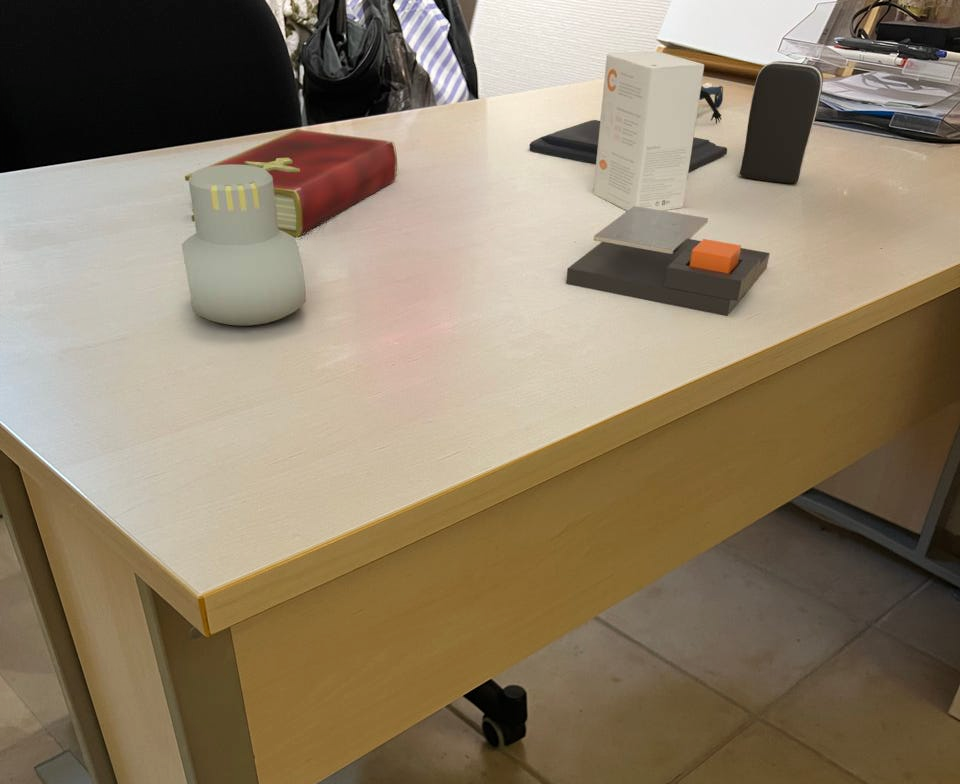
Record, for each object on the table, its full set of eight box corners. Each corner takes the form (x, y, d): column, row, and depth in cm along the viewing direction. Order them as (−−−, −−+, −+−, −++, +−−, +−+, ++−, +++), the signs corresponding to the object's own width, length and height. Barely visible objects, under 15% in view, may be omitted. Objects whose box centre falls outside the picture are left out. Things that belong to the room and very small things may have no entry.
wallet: (525, 132, 113) (592, 112, 123) (524, 150, 115) (590, 128, 124) (673, 162, 104) (733, 138, 114) (670, 180, 106) (729, 155, 115)
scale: (772, 270, 84) (780, 235, 82) (733, 318, 75) (741, 280, 73) (619, 242, 89) (623, 208, 87) (565, 285, 80) (568, 248, 78)
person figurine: (668, 113, 140) (625, 115, 126) (674, 77, 137) (631, 76, 124) (740, 122, 136) (703, 125, 122) (747, 86, 134) (711, 85, 120)
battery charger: (803, 178, 108) (830, 62, 100) (798, 186, 105) (825, 68, 98) (743, 170, 110) (764, 56, 102) (736, 178, 107) (757, 61, 100)
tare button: (738, 264, 77) (741, 245, 76) (727, 276, 75) (731, 256, 74) (700, 257, 78) (703, 238, 77) (688, 269, 76) (691, 249, 75)
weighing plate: (707, 222, 84) (708, 218, 84) (672, 254, 77) (673, 249, 77) (633, 210, 86) (634, 205, 86) (593, 240, 80) (593, 235, 79)
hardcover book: (397, 181, 102) (396, 138, 100) (302, 237, 87) (297, 188, 85) (300, 168, 106) (296, 126, 103) (192, 220, 91) (184, 172, 88)
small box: (684, 209, 97) (707, 63, 89) (632, 215, 95) (651, 67, 87) (640, 188, 103) (658, 49, 94) (591, 194, 101) (604, 52, 92)
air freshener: (312, 335, 70) (299, 192, 64) (199, 345, 68) (173, 199, 62) (292, 284, 78) (279, 152, 72) (190, 292, 76) (166, 157, 70)
